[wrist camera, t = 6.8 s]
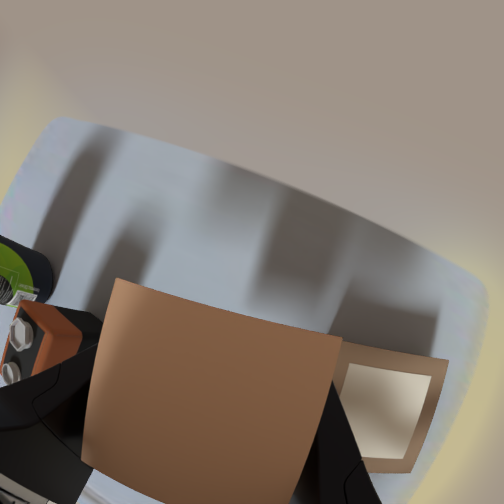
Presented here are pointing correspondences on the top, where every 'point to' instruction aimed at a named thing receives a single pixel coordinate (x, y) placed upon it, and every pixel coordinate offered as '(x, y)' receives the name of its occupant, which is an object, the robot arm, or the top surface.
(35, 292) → the beverage can
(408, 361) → the foundation block
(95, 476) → the top surface
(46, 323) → the battery
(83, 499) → the top surface
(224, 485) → the pillar block
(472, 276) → the top surface
